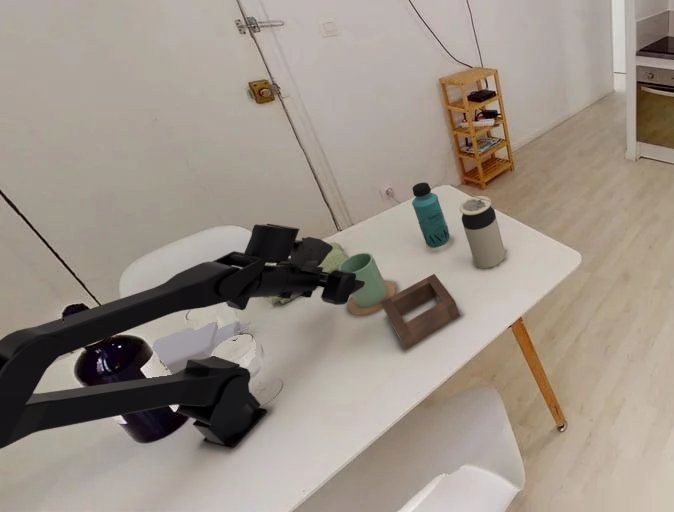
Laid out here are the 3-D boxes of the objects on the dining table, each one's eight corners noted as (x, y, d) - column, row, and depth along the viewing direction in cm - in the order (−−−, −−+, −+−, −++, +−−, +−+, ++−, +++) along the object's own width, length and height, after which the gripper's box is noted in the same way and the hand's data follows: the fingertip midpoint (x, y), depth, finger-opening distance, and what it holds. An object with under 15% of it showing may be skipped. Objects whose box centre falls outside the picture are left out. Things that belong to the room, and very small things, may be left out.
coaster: (376, 317, 94) (375, 316, 94) (338, 312, 96) (338, 310, 96) (404, 284, 103) (404, 283, 102) (370, 280, 104) (369, 278, 104)
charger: (251, 347, 88) (155, 386, 81) (257, 318, 95) (169, 351, 88) (240, 333, 86) (140, 372, 79) (247, 304, 93) (156, 337, 86)
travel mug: (488, 273, 105) (472, 218, 97) (468, 261, 109) (451, 208, 100) (511, 254, 111) (498, 200, 102) (491, 244, 115) (477, 191, 106)
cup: (385, 302, 97) (369, 269, 92) (353, 311, 95) (334, 277, 90) (390, 282, 103) (375, 249, 97) (359, 289, 101) (342, 257, 96)
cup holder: (405, 350, 87) (398, 334, 84) (387, 317, 94) (380, 302, 92) (460, 315, 94) (455, 301, 92) (439, 287, 101) (434, 273, 99)
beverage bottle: (422, 249, 114) (399, 191, 104) (438, 234, 119) (419, 177, 109) (441, 254, 112) (420, 194, 102) (457, 238, 117) (439, 180, 108)
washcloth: (262, 283, 104) (256, 274, 103) (340, 246, 116) (335, 237, 114) (275, 310, 97) (268, 301, 95) (356, 267, 108) (352, 258, 107)
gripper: (328, 246, 77) (392, 251, 92) (257, 230, 82) (329, 237, 97) (306, 308, 75) (376, 302, 89) (234, 287, 79) (311, 286, 94)
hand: (348, 280), depth 92 cm, fingers open, 9 cm apart
